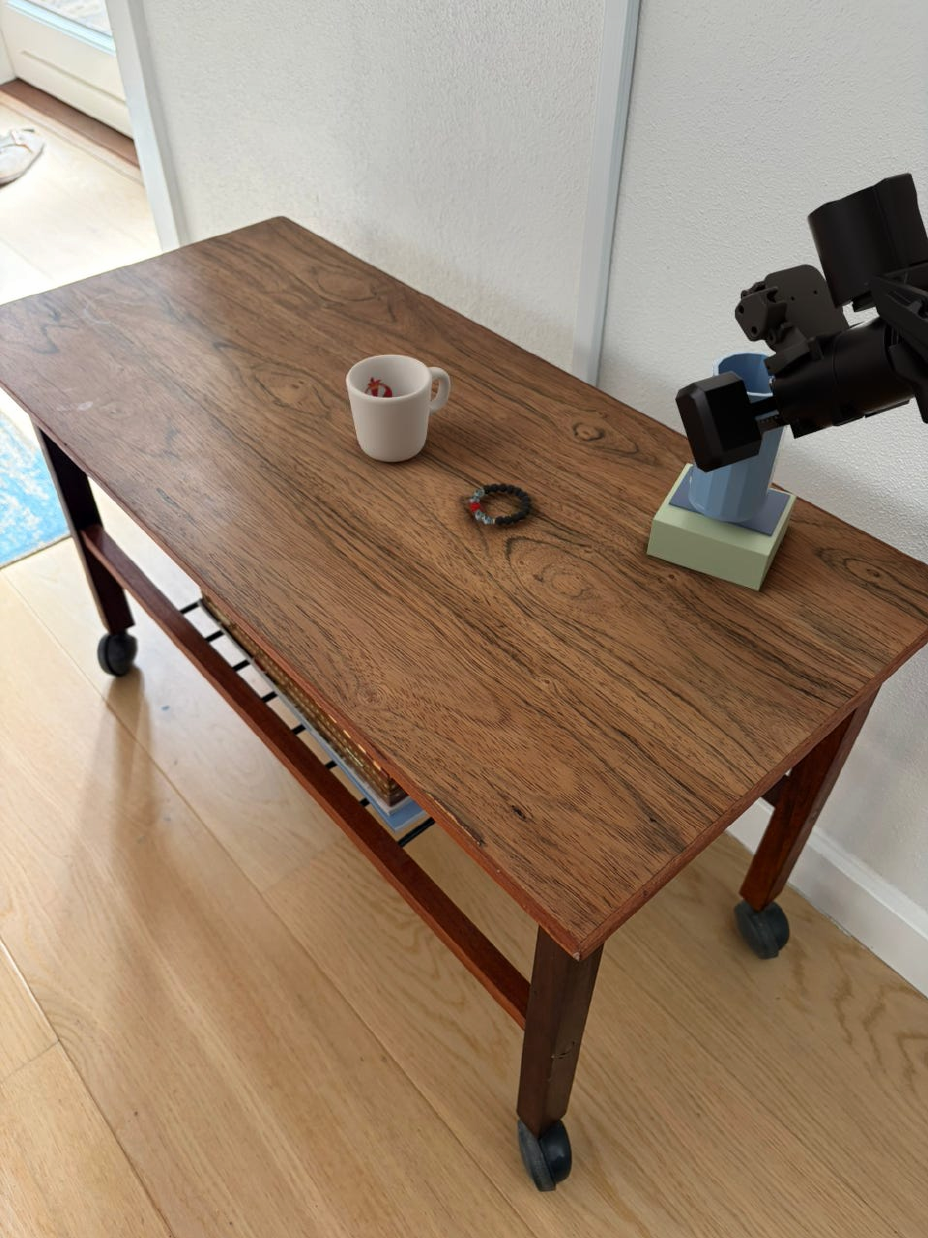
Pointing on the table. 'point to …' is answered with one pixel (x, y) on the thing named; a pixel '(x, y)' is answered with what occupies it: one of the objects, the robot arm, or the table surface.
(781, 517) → the box
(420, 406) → the cup
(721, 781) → the table surface
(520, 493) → the bracelet
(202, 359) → the table surface
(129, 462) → the table surface
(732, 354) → the blue hollow cylinder
